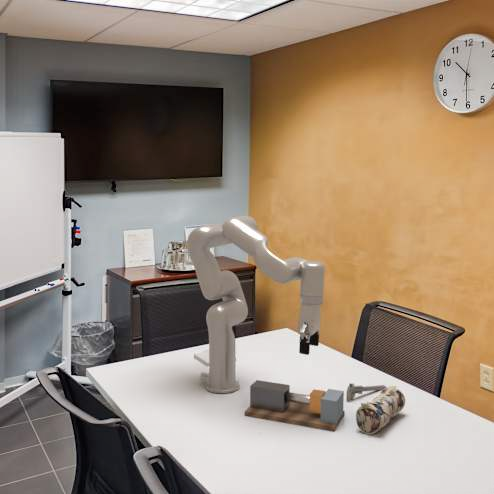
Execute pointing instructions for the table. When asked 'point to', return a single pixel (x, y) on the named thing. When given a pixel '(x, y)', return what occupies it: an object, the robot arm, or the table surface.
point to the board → (294, 416)
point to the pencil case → (380, 410)
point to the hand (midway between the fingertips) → (309, 349)
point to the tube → (307, 399)
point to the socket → (332, 406)
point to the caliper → (360, 390)
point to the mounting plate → (204, 357)
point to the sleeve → (269, 396)
